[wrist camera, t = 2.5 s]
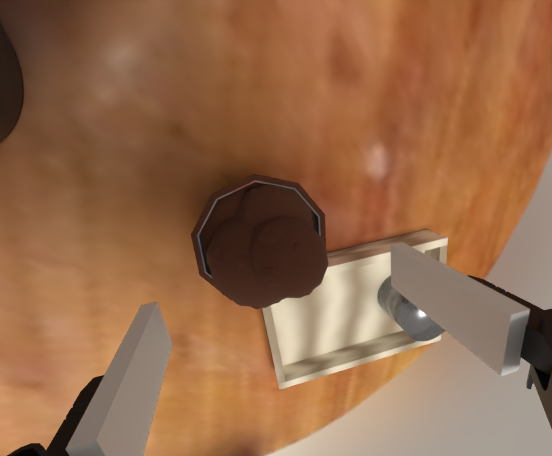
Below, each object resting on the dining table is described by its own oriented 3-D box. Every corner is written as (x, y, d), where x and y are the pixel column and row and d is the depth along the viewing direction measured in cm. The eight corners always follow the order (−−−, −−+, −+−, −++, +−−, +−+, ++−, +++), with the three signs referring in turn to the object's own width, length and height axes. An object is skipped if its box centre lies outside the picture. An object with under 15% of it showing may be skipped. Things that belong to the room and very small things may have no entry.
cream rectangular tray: (274, 367, 37) (279, 389, 34) (253, 270, 32) (257, 284, 28) (423, 324, 40) (440, 339, 37) (426, 229, 35) (447, 237, 32)
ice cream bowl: (251, 144, 27) (281, 142, 13) (314, 216, 31) (389, 274, 17) (180, 212, 28) (137, 280, 14) (250, 275, 32) (273, 377, 18)
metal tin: (377, 316, 36) (406, 347, 31) (376, 277, 34) (406, 303, 29) (418, 305, 37) (452, 333, 32) (419, 266, 35) (456, 289, 30)
